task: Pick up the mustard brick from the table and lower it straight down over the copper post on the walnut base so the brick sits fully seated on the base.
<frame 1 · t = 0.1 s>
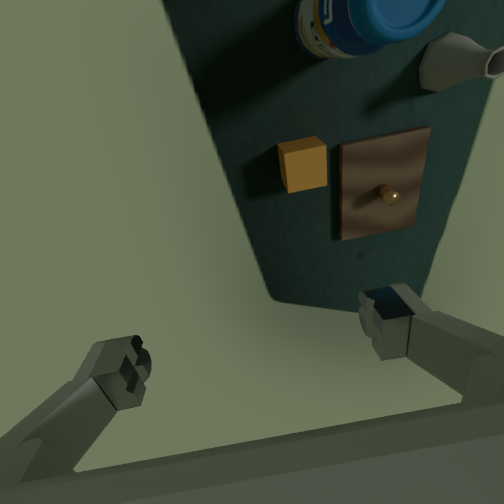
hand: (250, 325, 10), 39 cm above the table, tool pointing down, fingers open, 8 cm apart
mustard brick: (297, 158, 46), on the table
walnut post base: (377, 187, 50), on the table
beverage bottle: (323, 20, 36), on the table
flask: (441, 63, 40), on the table
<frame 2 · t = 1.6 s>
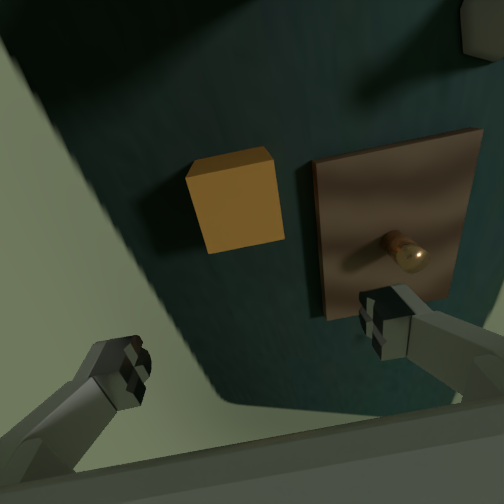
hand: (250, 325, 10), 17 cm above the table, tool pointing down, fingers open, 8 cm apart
mustard brick: (236, 187, 25), on the table
walnut post base: (384, 234, 29), on the table
flask: (503, 3, 20), on the table
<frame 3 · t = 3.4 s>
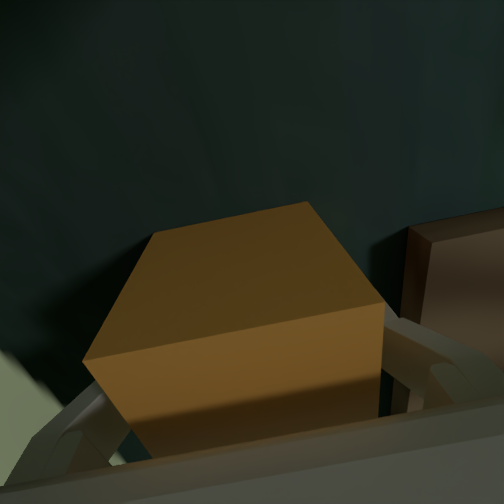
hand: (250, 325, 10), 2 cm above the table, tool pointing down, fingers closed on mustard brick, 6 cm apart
mustard brick: (245, 280, 12), on the table, touching gripper
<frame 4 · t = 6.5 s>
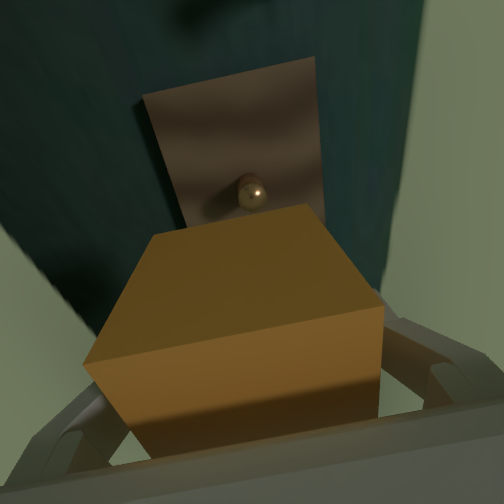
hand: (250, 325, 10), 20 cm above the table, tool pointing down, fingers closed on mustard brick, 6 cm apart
mustard brick: (245, 281, 12), point 18 cm above the table, touching gripper
walnut post base: (248, 181, 28), on the table
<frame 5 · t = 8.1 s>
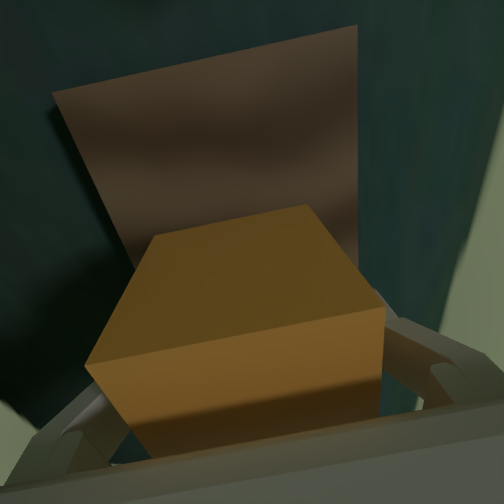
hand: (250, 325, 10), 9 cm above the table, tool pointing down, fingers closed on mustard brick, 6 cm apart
mustard brick: (245, 282, 12), point 7 cm above the table, touching gripper
walnut post base: (241, 227, 18), on the table
when the fingers open (5 cm above the table, at t = 9.5 s): mustard brick stays where it is, resting on walnut post base.
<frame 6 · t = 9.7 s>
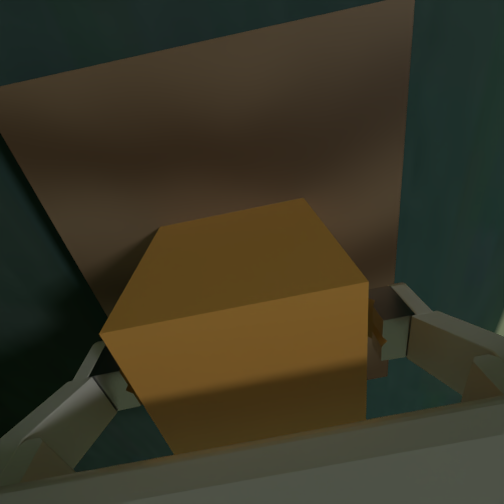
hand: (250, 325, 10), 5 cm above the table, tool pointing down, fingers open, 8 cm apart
mustard brick: (245, 272, 13), point 1 cm above the table, touching walnut post base
walnut post base: (245, 262, 14), on the table
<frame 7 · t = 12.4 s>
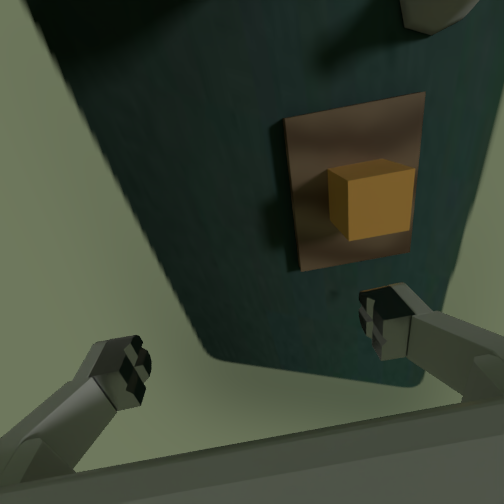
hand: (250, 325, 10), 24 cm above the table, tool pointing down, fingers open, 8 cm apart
mustard brick: (355, 190, 31), point 1 cm above the table, touching walnut post base
walnut post base: (350, 190, 33), on the table
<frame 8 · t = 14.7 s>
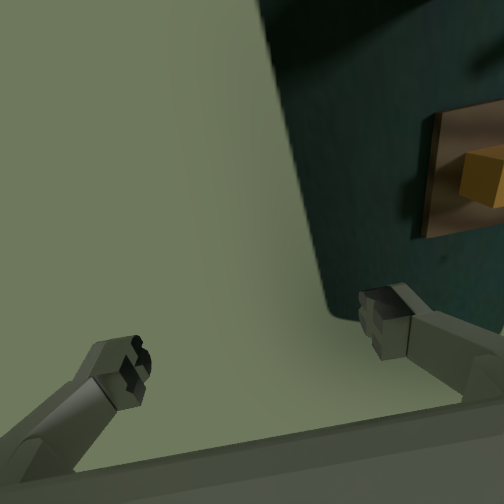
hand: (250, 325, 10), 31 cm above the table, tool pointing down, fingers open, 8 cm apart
mustard brick: (483, 169, 39), point 1 cm above the table, touching walnut post base
walnut post base: (474, 170, 40), on the table
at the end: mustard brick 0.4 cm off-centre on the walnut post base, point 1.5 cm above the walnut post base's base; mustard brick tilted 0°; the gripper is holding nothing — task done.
